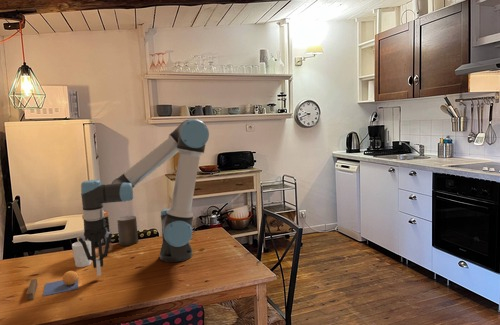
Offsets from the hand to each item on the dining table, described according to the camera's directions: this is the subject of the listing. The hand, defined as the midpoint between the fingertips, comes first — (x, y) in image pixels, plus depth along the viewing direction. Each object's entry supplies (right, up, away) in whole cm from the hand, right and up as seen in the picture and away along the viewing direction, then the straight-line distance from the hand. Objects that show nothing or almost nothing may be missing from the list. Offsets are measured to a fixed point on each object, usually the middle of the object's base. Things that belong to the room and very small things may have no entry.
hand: (99, 274), depth 151 cm
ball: (-10, 0, -4) cm, 11 cm away
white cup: (-14, -1, +17) cm, 22 cm away
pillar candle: (-3, +3, +45) cm, 45 cm away
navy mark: (-13, -3, -5) cm, 14 cm away
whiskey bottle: (-13, +1, +32) cm, 35 cm away
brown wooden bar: (-22, -4, -10) cm, 24 cm away
